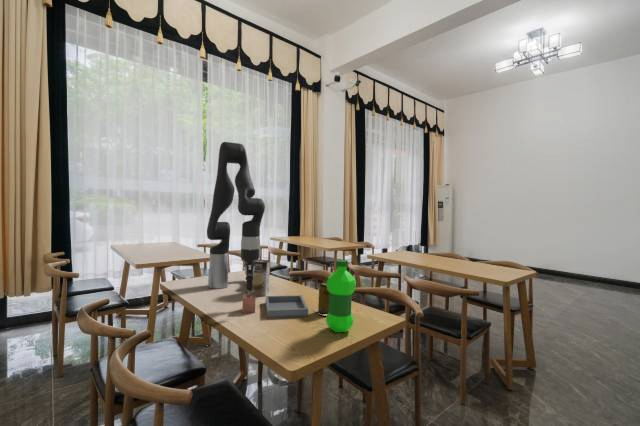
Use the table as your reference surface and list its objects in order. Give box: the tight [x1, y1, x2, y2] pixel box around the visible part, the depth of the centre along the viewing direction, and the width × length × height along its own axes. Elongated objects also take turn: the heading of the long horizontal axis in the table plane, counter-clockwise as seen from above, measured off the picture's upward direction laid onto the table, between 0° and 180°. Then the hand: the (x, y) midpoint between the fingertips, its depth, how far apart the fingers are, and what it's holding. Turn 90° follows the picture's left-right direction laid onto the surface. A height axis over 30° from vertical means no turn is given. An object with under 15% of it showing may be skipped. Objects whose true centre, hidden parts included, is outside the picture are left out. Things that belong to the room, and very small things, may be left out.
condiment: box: [313, 281, 330, 318], centre depth 126 cm, size 7×8×12 cm
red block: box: [241, 294, 257, 314], centre depth 126 cm, size 5×5×6 cm
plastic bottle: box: [325, 259, 357, 333], centre depth 110 cm, size 10×10×25 cm
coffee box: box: [247, 259, 271, 297], centre depth 149 cm, size 9×6×16 cm
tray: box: [265, 294, 309, 319], centre depth 129 cm, size 16×18×3 cm
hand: (249, 287), depth 126 cm, fingers open, 8 cm apart
